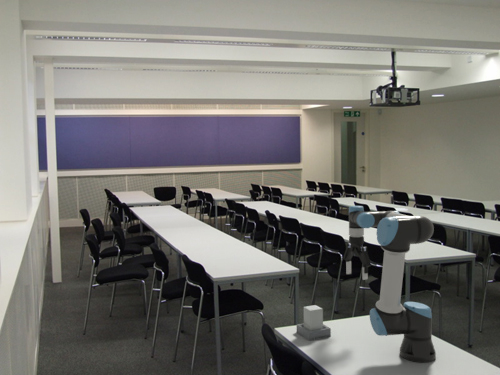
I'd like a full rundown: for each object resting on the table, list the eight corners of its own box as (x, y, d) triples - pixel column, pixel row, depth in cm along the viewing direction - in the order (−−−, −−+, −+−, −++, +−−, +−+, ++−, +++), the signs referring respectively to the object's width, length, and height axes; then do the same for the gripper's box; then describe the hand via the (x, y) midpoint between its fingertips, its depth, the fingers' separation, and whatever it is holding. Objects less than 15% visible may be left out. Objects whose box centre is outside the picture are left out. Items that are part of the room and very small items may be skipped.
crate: (330, 336, 243) (330, 328, 243) (308, 340, 238) (308, 332, 238) (317, 328, 255) (317, 320, 254) (296, 332, 250) (296, 324, 250)
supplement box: (323, 333, 244) (323, 308, 244) (310, 335, 242) (310, 310, 241) (316, 328, 251) (315, 304, 250) (303, 331, 249) (303, 306, 248)
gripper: (378, 238, 243) (378, 280, 245) (347, 232, 266) (348, 270, 267) (365, 240, 240) (366, 282, 241) (336, 233, 263) (336, 272, 264)
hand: (356, 276), depth 254 cm, fingers open, 13 cm apart
